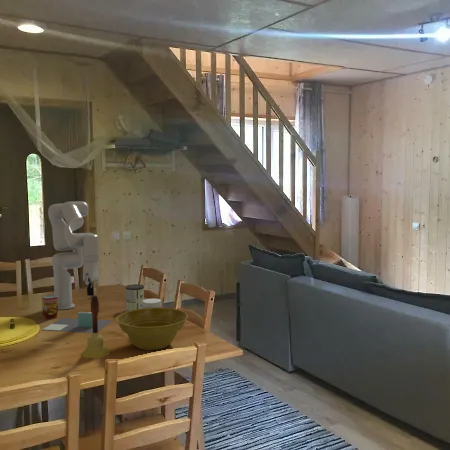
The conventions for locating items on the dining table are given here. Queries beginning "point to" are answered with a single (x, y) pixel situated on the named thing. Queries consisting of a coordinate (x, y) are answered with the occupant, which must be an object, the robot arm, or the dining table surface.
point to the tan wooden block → (93, 290)
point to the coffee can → (134, 297)
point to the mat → (74, 325)
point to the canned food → (50, 306)
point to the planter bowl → (152, 326)
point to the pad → (55, 327)
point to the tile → (85, 319)
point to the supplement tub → (151, 303)
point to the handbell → (95, 336)
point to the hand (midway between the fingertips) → (92, 294)
